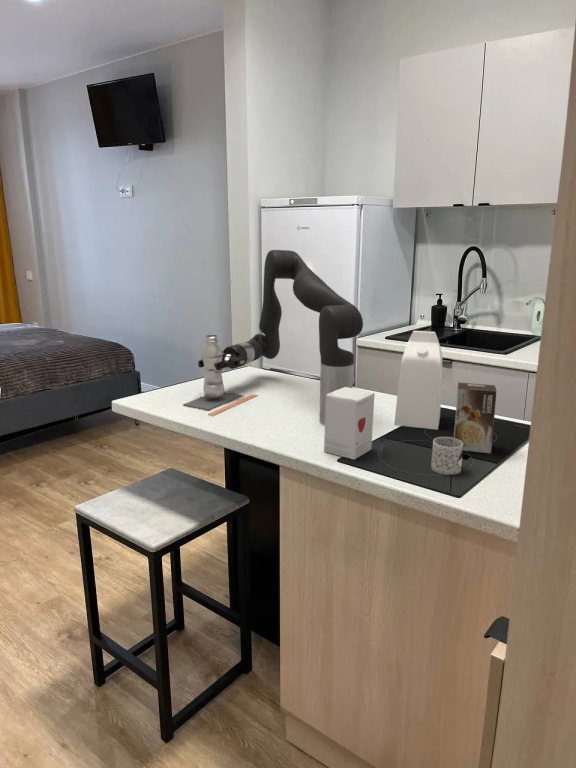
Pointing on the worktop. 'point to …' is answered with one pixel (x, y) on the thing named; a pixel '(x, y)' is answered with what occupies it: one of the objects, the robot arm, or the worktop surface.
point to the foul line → (232, 405)
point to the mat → (212, 401)
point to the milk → (420, 382)
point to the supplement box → (348, 422)
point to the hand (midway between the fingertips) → (207, 365)
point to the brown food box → (475, 416)
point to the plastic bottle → (212, 368)
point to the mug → (447, 455)
